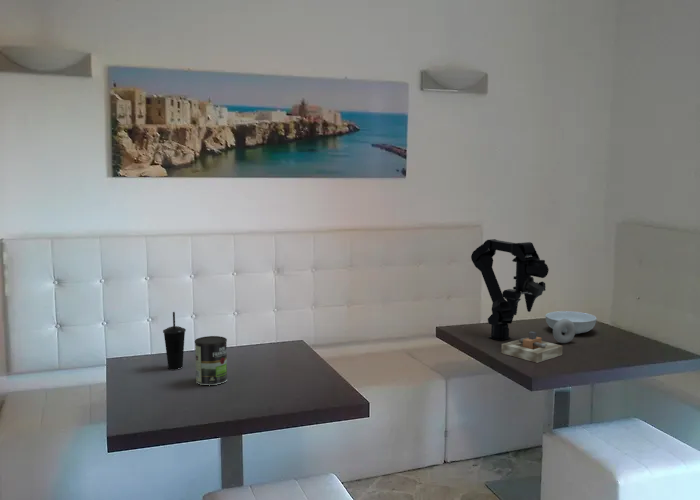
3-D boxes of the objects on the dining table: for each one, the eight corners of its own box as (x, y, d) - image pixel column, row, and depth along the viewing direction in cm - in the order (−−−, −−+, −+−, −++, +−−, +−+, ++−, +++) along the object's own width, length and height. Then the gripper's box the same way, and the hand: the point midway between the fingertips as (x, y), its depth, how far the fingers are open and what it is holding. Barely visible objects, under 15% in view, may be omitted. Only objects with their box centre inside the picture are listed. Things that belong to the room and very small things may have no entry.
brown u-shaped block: (522, 351, 249) (523, 333, 248) (534, 347, 253) (535, 329, 253) (529, 352, 246) (530, 334, 246) (541, 349, 251) (541, 331, 250)
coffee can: (234, 379, 219) (233, 338, 218) (212, 388, 211) (211, 345, 209) (211, 374, 225) (210, 334, 223) (189, 382, 216) (187, 340, 214)
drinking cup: (190, 365, 234) (189, 310, 232) (178, 372, 227) (176, 315, 225) (172, 363, 237) (170, 309, 234) (159, 369, 230) (157, 313, 227)
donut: (571, 341, 269) (572, 317, 267) (576, 343, 265) (577, 319, 264) (550, 343, 266) (551, 318, 264) (555, 345, 262) (556, 320, 261)
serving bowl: (560, 323, 299) (561, 308, 298) (604, 332, 284) (605, 316, 283) (535, 331, 285) (535, 315, 284) (580, 340, 270) (581, 324, 269)
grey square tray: (501, 353, 251) (501, 340, 251) (526, 345, 261) (527, 333, 261) (537, 362, 239) (537, 349, 238) (562, 354, 249) (562, 341, 249)
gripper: (526, 279, 247) (524, 320, 249) (555, 274, 258) (553, 313, 260) (502, 275, 255) (500, 315, 257) (530, 270, 267) (529, 308, 269)
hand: (522, 313), depth 261 cm, fingers open, 9 cm apart
